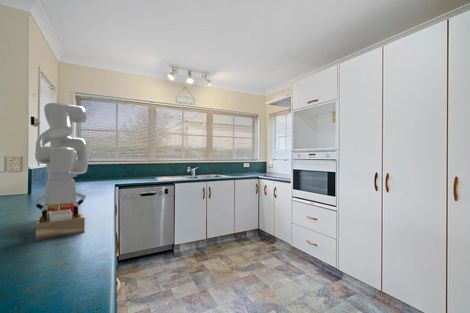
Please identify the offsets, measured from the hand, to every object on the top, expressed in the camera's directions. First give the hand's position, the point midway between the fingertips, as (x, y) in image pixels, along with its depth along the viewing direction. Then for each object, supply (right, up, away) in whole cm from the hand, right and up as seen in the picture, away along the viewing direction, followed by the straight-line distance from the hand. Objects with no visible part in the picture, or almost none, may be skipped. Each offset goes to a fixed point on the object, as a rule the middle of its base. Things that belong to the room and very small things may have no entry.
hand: (60, 217), depth 92 cm
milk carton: (-9, -6, +11) cm, 16 cm away
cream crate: (0, -5, 0) cm, 5 cm away
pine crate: (0, -6, -1) cm, 6 cm away
